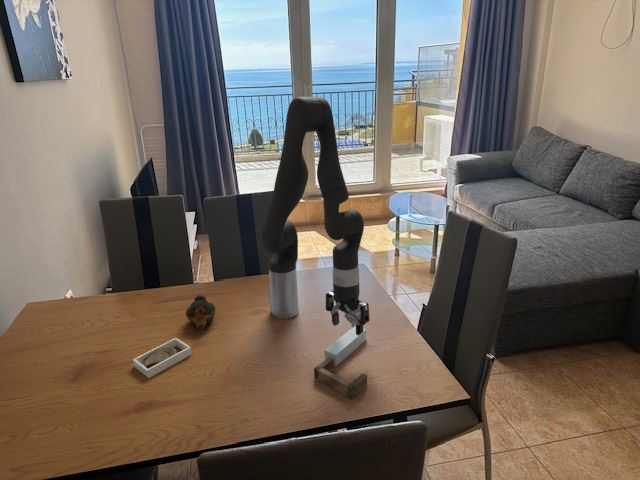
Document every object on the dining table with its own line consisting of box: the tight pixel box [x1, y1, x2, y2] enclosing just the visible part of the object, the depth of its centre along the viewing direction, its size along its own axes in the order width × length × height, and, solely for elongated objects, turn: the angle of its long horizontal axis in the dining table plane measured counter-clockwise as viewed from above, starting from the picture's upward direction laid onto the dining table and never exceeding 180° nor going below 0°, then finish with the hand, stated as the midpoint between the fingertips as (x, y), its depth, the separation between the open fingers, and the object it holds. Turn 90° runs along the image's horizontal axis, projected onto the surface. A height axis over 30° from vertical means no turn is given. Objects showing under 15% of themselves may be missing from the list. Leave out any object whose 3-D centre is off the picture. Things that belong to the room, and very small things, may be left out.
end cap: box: [313, 357, 368, 400], centre depth 119 cm, size 13×6×4 cm, turn 49°
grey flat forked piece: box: [343, 299, 362, 327], centre depth 155 cm, size 21×7×2 cm, turn 178°
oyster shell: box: [142, 346, 179, 368], centre depth 131 cm, size 6×4×10 cm
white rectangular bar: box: [324, 325, 367, 367], centre depth 133 cm, size 4×16×4 cm, turn 142°
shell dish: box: [132, 337, 193, 379], centre depth 131 cm, size 8×14×2 cm, turn 139°
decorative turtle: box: [185, 292, 216, 330], centre depth 150 cm, size 10×15×8 cm, turn 19°
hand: (347, 329), depth 131 cm, fingers open, 8 cm apart
